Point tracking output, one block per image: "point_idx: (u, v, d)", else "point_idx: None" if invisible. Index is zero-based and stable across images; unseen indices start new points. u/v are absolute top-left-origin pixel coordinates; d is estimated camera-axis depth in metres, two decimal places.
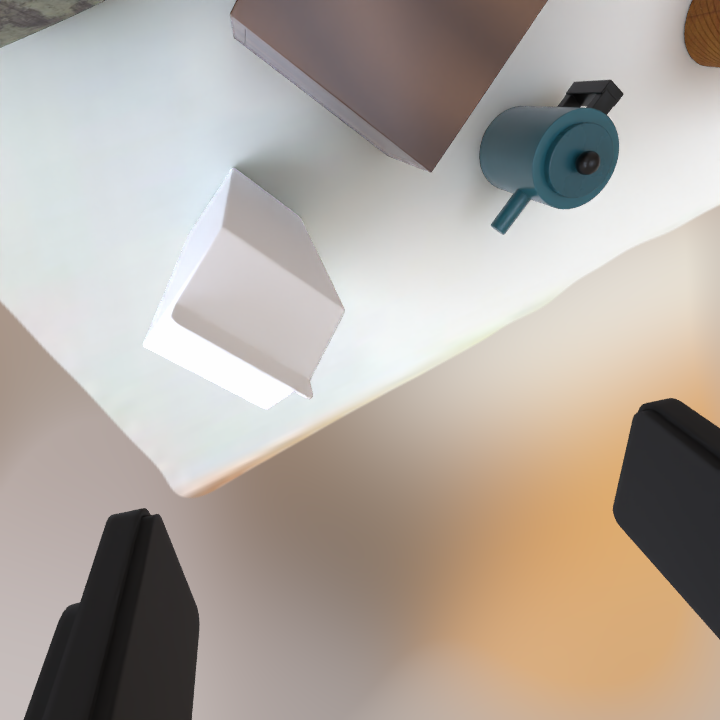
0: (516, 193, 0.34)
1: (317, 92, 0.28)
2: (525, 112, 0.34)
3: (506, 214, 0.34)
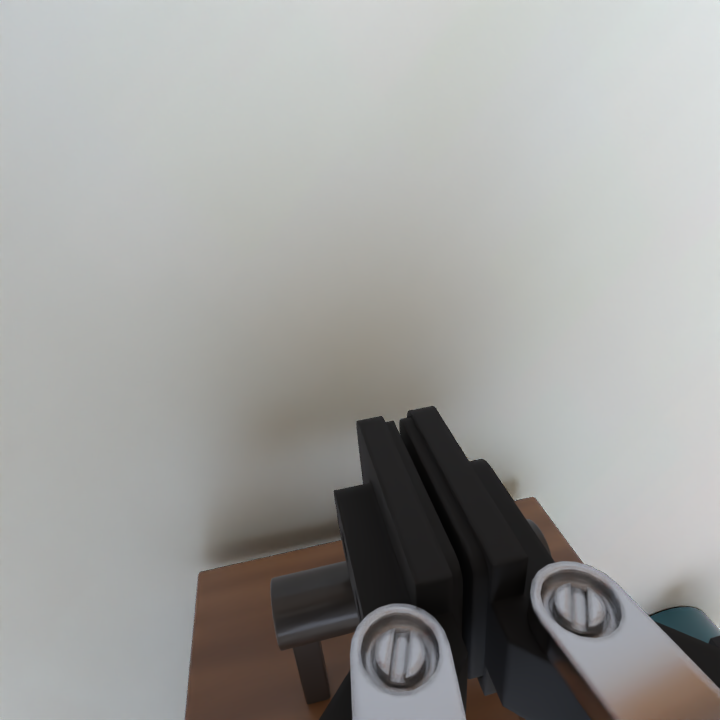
0: None
1: None
2: None
3: None
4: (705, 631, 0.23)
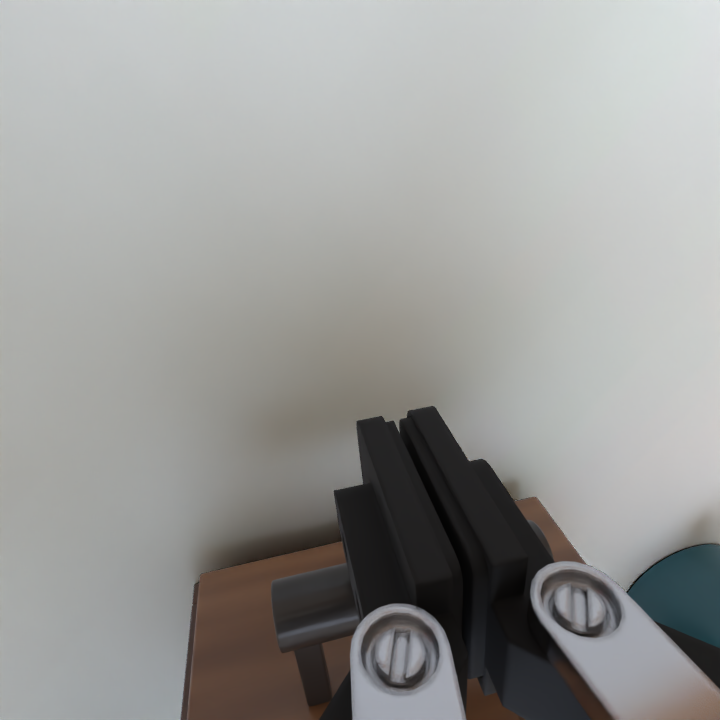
0: None
1: None
2: None
3: None
4: None
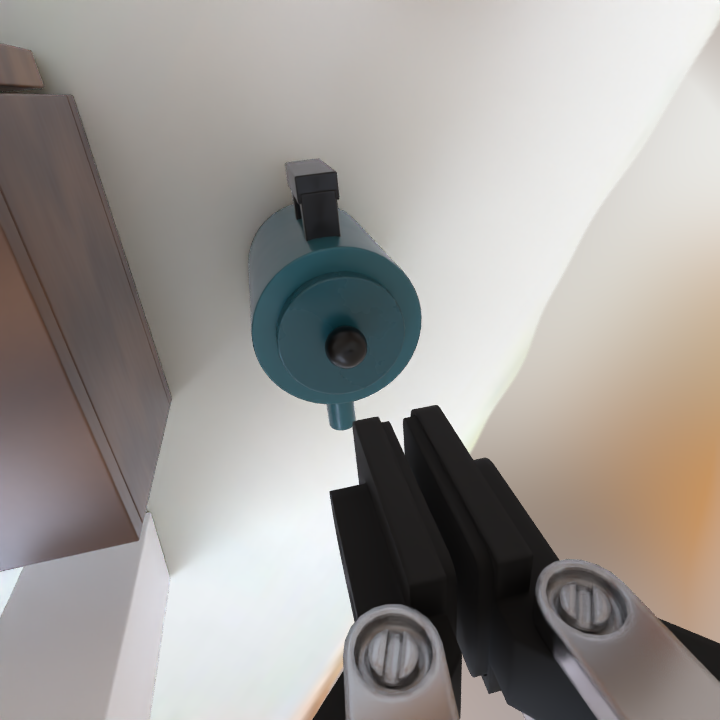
0: None
1: None
2: (252, 265, 0.20)
3: (333, 408, 0.21)
4: None
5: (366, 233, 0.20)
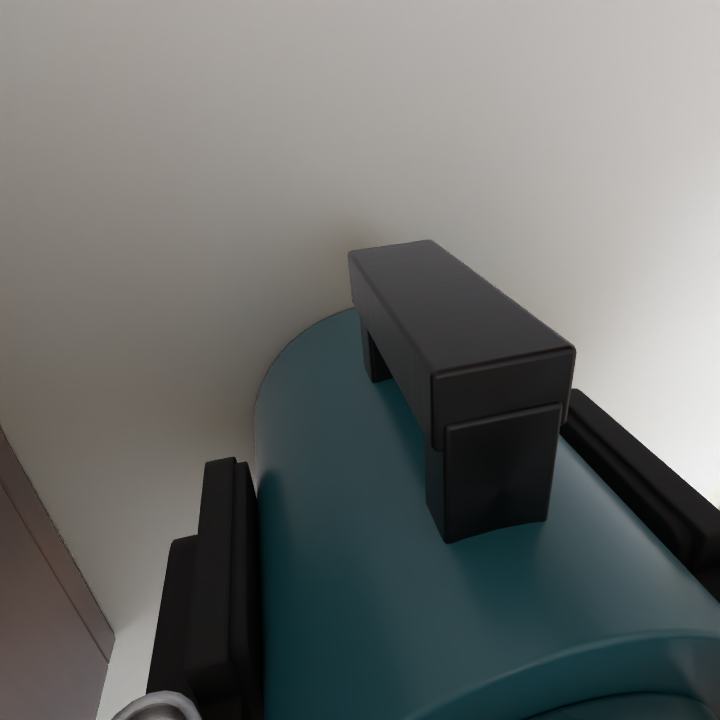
0: None
1: None
2: (265, 481, 0.09)
3: None
4: None
5: None
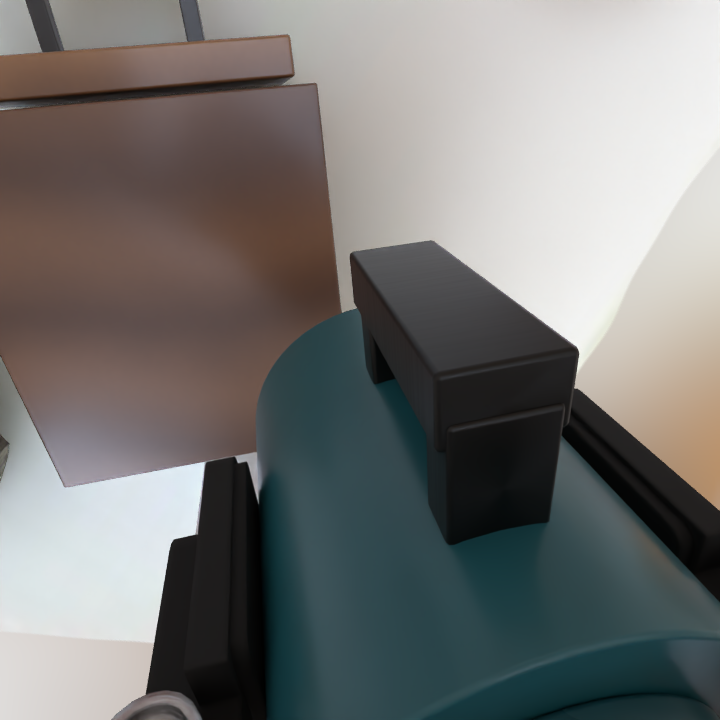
0: None
1: None
2: (266, 482, 0.09)
3: None
4: None
5: None
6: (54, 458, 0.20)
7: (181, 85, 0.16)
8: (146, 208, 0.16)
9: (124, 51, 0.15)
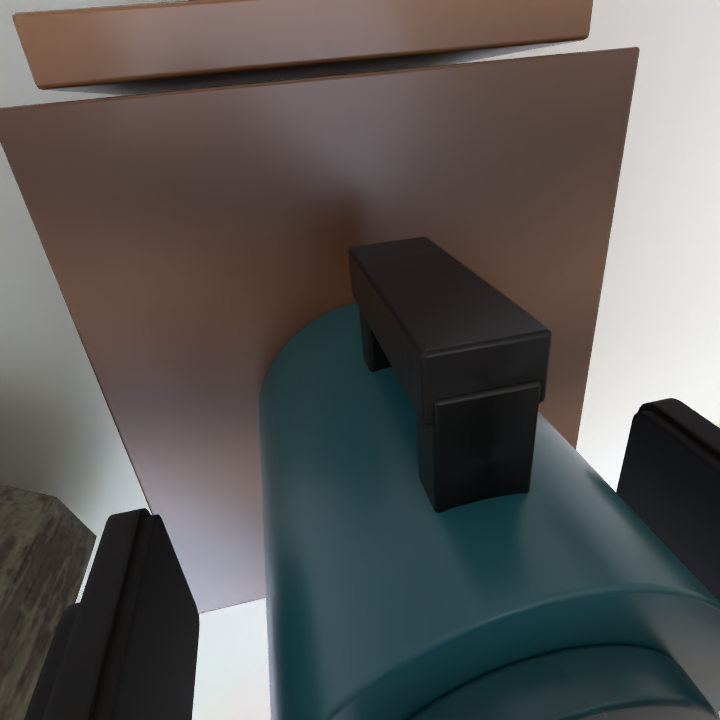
0: None
1: None
2: (269, 465, 0.09)
3: None
4: None
5: None
6: None
7: (428, 52, 0.10)
8: (362, 242, 0.11)
9: None
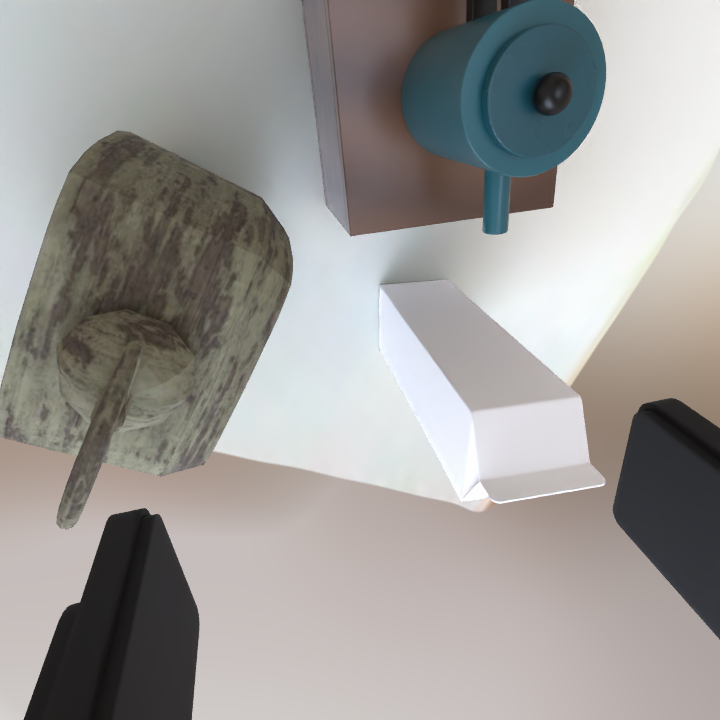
0: (487, 176, 0.22)
1: None
2: (427, 66, 0.22)
3: (492, 210, 0.23)
4: None
5: None
6: (350, 207, 0.27)
7: None
8: None
9: None
